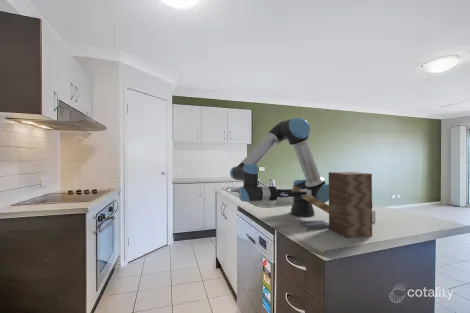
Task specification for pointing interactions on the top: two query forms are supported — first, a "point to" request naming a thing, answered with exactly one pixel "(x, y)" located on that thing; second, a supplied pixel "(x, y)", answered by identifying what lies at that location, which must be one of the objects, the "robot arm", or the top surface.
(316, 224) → the mat
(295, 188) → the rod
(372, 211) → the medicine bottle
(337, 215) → the stand
